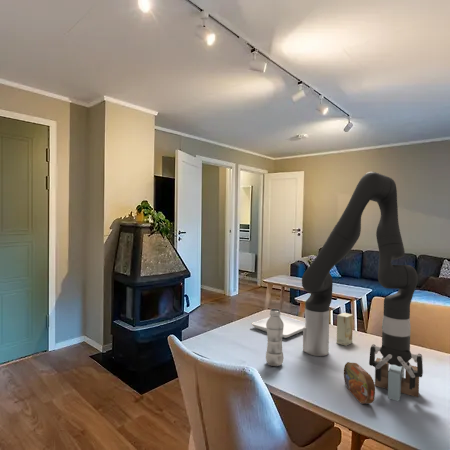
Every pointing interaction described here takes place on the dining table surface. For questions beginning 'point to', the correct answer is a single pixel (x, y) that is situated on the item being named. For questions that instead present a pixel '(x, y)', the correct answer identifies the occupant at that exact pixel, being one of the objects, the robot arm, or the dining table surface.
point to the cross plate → (395, 382)
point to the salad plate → (289, 323)
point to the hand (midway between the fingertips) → (394, 384)
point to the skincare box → (344, 328)
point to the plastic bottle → (274, 338)
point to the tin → (359, 383)
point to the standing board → (404, 381)
